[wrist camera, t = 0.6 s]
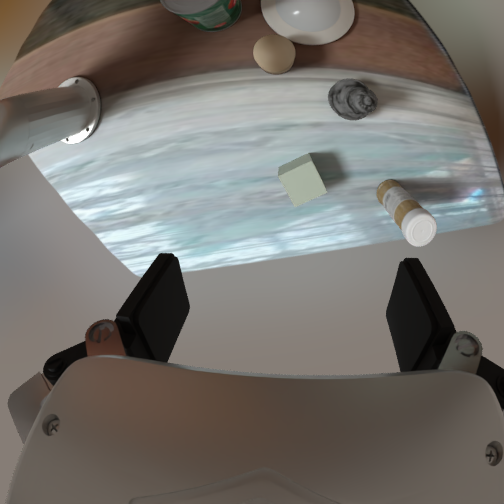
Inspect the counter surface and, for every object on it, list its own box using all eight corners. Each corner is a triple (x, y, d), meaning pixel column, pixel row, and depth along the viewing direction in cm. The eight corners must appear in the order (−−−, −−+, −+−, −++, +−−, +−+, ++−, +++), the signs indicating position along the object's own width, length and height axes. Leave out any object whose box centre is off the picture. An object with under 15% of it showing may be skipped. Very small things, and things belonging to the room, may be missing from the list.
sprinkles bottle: (392, 209, 41) (424, 253, 30) (370, 197, 41) (399, 239, 30) (405, 186, 39) (444, 224, 28) (384, 173, 39) (419, 207, 27)
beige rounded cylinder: (261, 76, 33) (257, 73, 28) (254, 45, 31) (249, 37, 26) (296, 72, 32) (298, 68, 27) (290, 41, 30) (291, 32, 25)
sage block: (293, 194, 42) (294, 207, 38) (278, 167, 40) (278, 176, 36) (322, 181, 41) (327, 192, 37) (308, 152, 39) (311, 160, 34)
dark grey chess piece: (325, 115, 35) (341, 124, 25) (326, 77, 32) (344, 70, 22) (364, 120, 35) (393, 132, 25) (366, 83, 32) (397, 80, 22)
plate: (270, 49, 31) (269, 48, 30) (253, -22, 24) (253, -25, 23) (360, 44, 28) (362, 43, 28) (342, -27, 22) (343, -29, 21)
